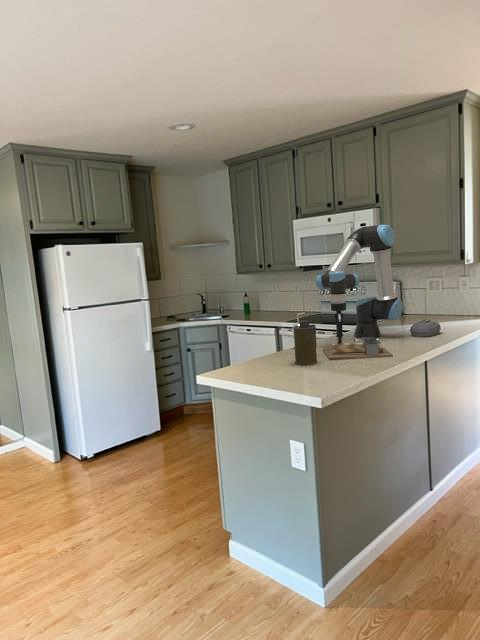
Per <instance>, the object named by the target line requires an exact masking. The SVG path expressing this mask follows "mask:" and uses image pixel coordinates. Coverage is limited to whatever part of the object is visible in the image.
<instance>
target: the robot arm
mask: <svg viewBox="0 0 480 640" xmlns="http://www.w3.org/2000/svg"><path fill="white" fill-rule="evenodd" d="M395 240H396V235H395V232H394V229H393V228H392V226H391V225H389V224H375V225H368V226H367V225H366V226H362V227H359V228H357V229H355V230H354V231H353V232H352V233H350V234H349V236H347V238H346V239H345V241H344V243H343V246H342V248H341V249H340V251H339V253H337V255H336V256H335V258H334V259H333V260H332V262H331V263H330V265H329V267H328V268H327V269H326V271H325V272H324V274H318V275H317V276H316V279H315V286H316V288H317V289H320V290H330V292H329V293H330V296H328V297H329V299H330V310H331V311H332V312H335V313H334V321H335V326H336V328H335V329H336V335H335V337H336V344H337V343H344V340H343V336H344V334H343V333H344V332H343V323H344V319H343V318H344V314H343V313H342V312H343V311H346V310H347V293H346V290H349V289H350V290H351V289H355V288H357V287H358V286H359V284H360V277H359V276H358V275H357V273H356V274H355V273H346V272H345V269H346V268H347V267H348V265H349V263H350V262H351V261H352V259H353V257H354V256H355V255H356V254H357V253H359V252H361V250H362V249H366V248H369V252H370V253H372V254H373V263H374V270H375V271H374V272H375V278H376V286H377V294H378V295H377V296H371V297H370V296H369V297H363V298H358V299H357V300H356V306H355V308H356V310H355V311H356V326H355V329H354V333H353V334H354V337H355V338H357V339H361V337H374V338H375V339H378V338H380V337H382V335H381V334H382V333H381V331H380V327H379V324H378V320H386V321H396V320H398V319H399V318H400V317H401V316H402V313H403V308H404V304H403V301H402V300H401V299H398V298H399V297H398V295H397V294H396V293H395V289H394V280H393V272H392V264H391V256H390V255H391V254H390V251H391V250H392V246H393V245H395V242H396V241H395Z"/></svg>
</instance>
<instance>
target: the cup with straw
mask: <svg viewBox="0 0 480 640" xmlns="http://www.w3.org/2000/svg"><path fill="white" fill-rule="evenodd" d="M305 314H307V313H306V312H299V313H297V314H296V315H297V322H296V323H295V324H294V325H292V328H291V330H290V331H291V332H292V335H293V336H294V328H293V327H294V326H299V325H300V324H299V323H298V322H299V321H300V319H299V315H305Z"/></svg>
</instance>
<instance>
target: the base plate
mask: <svg viewBox="0 0 480 640" xmlns="http://www.w3.org/2000/svg"><path fill="white" fill-rule="evenodd" d="M322 352H323V353H324V355H325V356H326V358H327V359H328V361H339V360H355V359H372V358H373V359H374V358H375V359H376V358H393V357H394V356H393V354H392V352H390V351H388V350H387V349H386V348H385V347H383V351H382V352H379V355H372V356H367V355H366V354H365V352H339V353H332V347H328V348H322Z"/></svg>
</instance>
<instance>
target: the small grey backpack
mask: <svg viewBox="0 0 480 640" xmlns="http://www.w3.org/2000/svg"><path fill="white" fill-rule="evenodd" d="M441 328H442V327H441V324H440V322H437V321H432V320H431V319H428V320H426V319H423V320H420V321H417V322H414V323H413V324H412V325H411V327H410V329H409V332H410V336H413V337H419V338H420V337H421V338H423V337H424V338H425V337H433V336H436V335H438V334H439V333H440V331H441V330H442V329H441Z"/></svg>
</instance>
